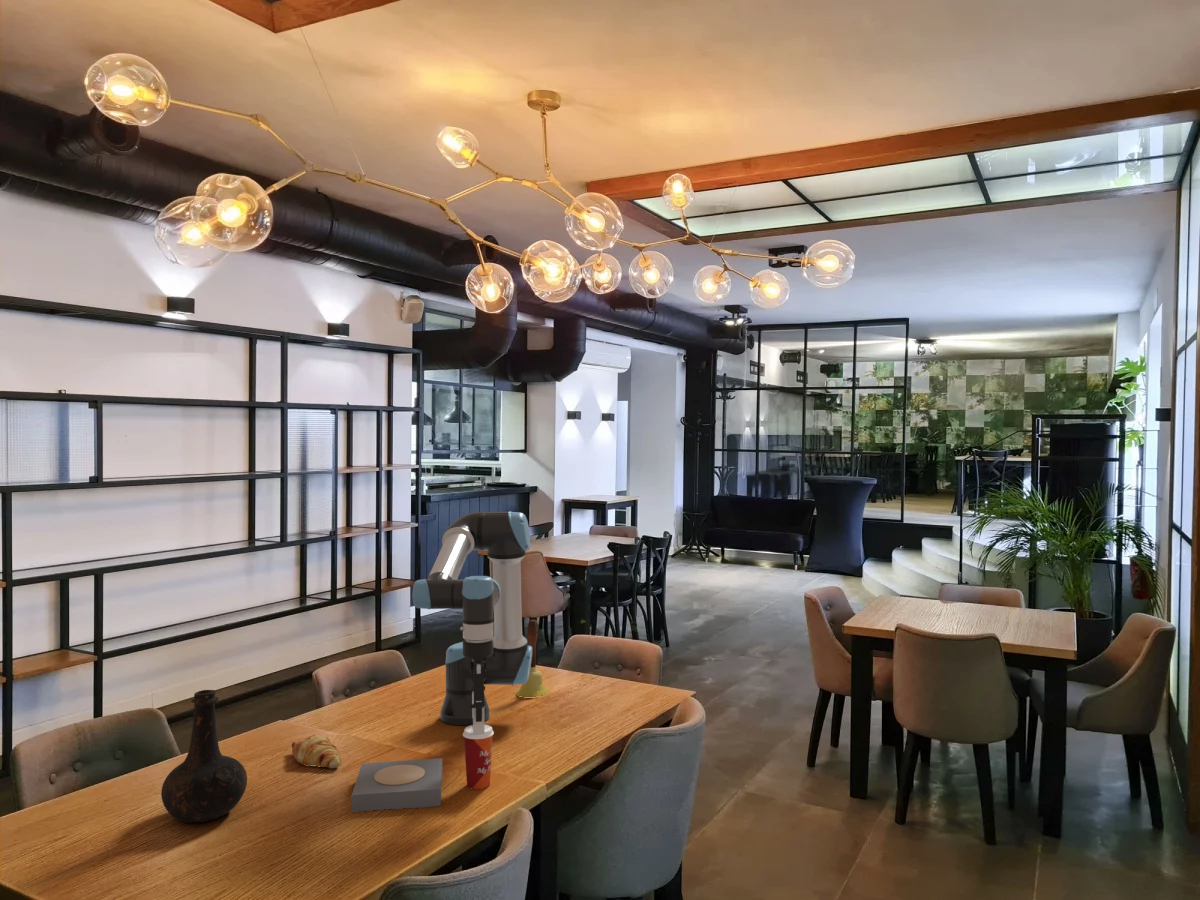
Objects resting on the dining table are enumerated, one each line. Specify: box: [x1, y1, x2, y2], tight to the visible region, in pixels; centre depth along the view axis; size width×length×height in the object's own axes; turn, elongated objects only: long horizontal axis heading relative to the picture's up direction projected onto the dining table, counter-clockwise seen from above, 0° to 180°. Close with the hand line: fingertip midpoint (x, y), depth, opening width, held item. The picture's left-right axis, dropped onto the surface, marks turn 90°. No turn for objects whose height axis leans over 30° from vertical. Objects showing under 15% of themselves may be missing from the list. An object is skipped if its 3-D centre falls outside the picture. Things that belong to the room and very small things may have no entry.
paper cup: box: [462, 724, 495, 790], centre depth 207 cm, size 8×8×14 cm
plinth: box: [351, 757, 443, 813], centre depth 203 cm, size 20×20×4 cm
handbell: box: [514, 619, 551, 697], centre depth 286 cm, size 12×12×25 cm
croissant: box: [291, 734, 342, 769], centre depth 224 cm, size 21×10×8 cm, turn 52°
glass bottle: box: [161, 689, 248, 823], centre depth 191 cm, size 18×18×28 cm
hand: (478, 725), depth 207 cm, fingers open, 13 cm apart
